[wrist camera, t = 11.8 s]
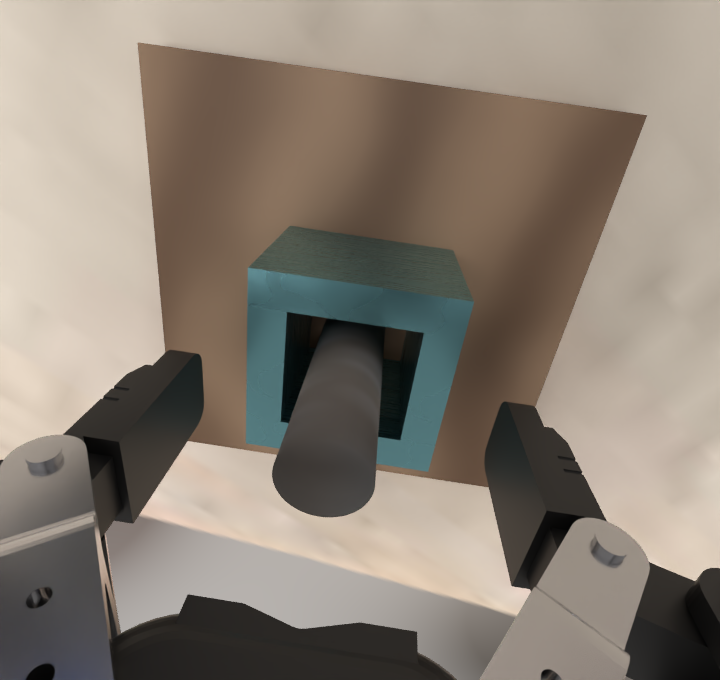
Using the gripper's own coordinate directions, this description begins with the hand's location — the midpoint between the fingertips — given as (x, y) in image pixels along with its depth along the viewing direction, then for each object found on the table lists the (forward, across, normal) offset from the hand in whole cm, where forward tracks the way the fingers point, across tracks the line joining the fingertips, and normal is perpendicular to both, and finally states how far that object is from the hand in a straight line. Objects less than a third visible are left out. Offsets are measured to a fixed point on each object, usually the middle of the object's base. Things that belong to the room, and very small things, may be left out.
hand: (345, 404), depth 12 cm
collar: (+6, 0, 0) cm, 6 cm away
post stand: (+8, 0, 0) cm, 8 cm away
